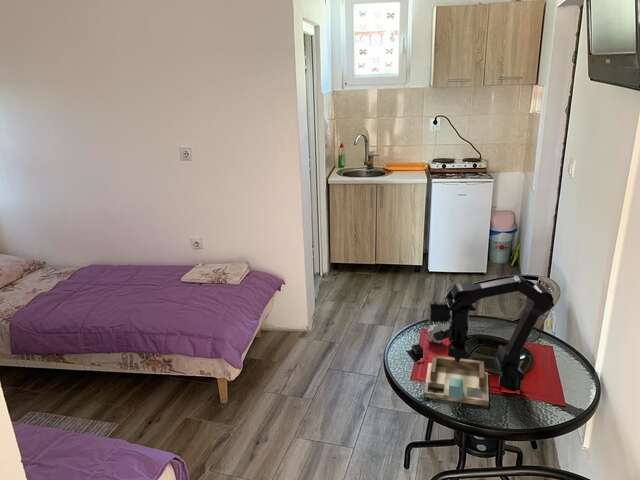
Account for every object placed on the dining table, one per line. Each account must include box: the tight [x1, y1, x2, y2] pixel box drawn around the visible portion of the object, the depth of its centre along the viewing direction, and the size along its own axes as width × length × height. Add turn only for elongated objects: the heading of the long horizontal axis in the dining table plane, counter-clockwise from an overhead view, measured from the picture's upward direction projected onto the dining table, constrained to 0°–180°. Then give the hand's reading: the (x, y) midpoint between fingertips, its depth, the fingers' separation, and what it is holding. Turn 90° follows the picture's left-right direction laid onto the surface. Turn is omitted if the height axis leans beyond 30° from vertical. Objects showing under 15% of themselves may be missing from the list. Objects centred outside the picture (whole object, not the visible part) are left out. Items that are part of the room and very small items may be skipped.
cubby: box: [430, 355, 485, 387], centre depth 179 cm, size 18×10×4 cm, turn 74°
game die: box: [424, 322, 444, 346], centre depth 202 cm, size 9×8×10 cm
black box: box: [405, 343, 424, 364], centre depth 195 cm, size 12×7×5 cm, turn 16°
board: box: [423, 362, 490, 407], centre depth 176 cm, size 21×18×2 cm
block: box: [449, 378, 463, 399], centre depth 168 cm, size 4×4×4 cm
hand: (457, 361), depth 171 cm, fingers closed
